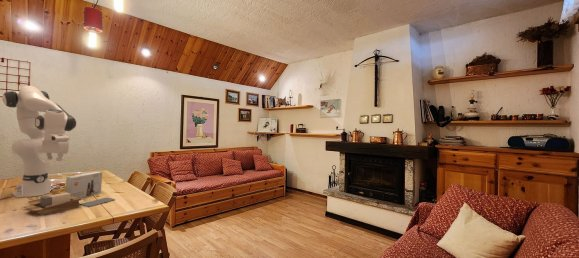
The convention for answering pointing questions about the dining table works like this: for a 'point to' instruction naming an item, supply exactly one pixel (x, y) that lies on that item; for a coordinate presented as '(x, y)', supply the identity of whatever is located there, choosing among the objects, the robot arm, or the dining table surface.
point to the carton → (53, 206)
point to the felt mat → (97, 202)
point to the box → (54, 199)
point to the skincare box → (84, 184)
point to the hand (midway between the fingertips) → (54, 160)
